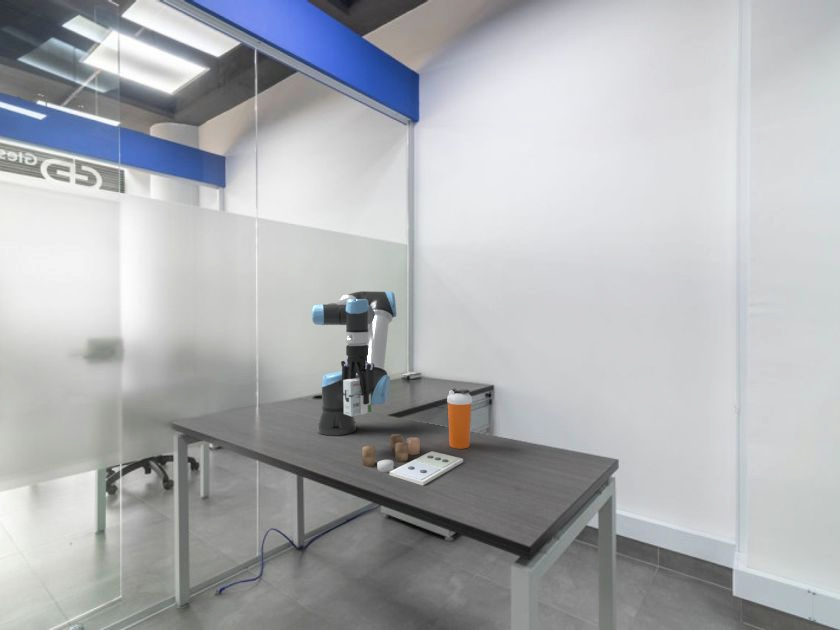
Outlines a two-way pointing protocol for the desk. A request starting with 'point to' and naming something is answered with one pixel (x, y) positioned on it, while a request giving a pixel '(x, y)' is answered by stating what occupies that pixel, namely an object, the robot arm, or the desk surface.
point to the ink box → (353, 397)
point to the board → (426, 467)
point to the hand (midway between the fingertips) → (357, 411)
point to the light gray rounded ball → (385, 465)
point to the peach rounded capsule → (413, 446)
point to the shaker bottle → (459, 418)
